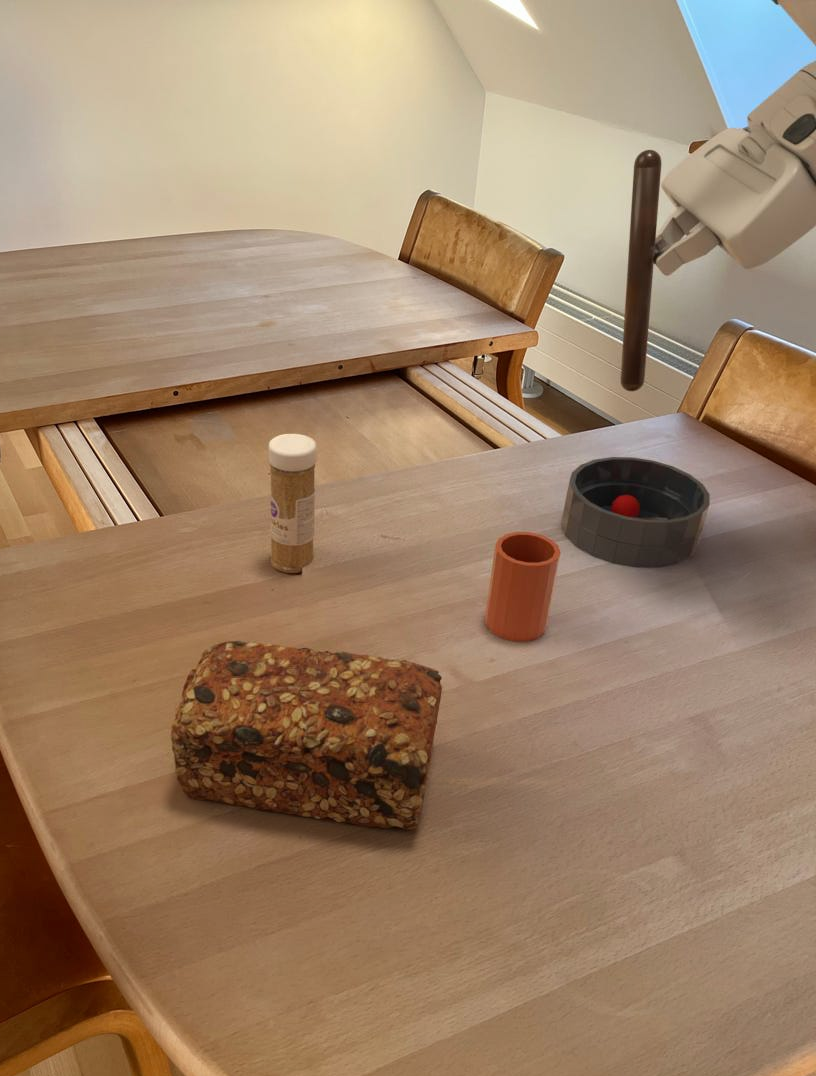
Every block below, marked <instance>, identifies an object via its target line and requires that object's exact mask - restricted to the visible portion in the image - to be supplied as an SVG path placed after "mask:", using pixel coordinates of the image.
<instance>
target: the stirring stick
mask: <svg viewBox="0 0 816 1076" xmlns="http://www.w3.org/2000/svg"><path fill="white" fill-rule="evenodd" d="M661 176H662V157H661V155H660V154H659V152H657V150H653V149H646V150H645V149H644V150H643V151H642V152H640V153H639V154H638V155H637V156H636V158H635V160H634V163H633V175H632V190H631V191H632V192H631V207H630V224H629V240H628V253H627V254H628V256H627V268H626V269H627V271H626V288H625V300H624V303H625V304H624V320H623V333H622V350H621V351H622V352H621V364H620V365H621V366H620V385H621V387H622V388H623V389H624V390H625V391H627V392H631V393H633V392H637V391H638V390H640V389H641V388H642V387H643V385H644V383H645V380H646V379H645V378H646V365H647V353H648V343H649V342H648V341H649V328H650V317H651V315H650V314H651V303H652V301H651V300H652V289H653V279H654V265H655V264H654V261H653V257H654V253H655V240H656V235H657V228H658V227H657V225H658V215H659V214H658V213H659V201H660V190H661V189H660V188H661Z"/></svg>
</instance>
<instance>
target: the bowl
mask: <svg viewBox="0 0 816 1076" xmlns="http://www.w3.org/2000/svg"><path fill="white" fill-rule="evenodd" d="M622 495H630V496H633V497H634V498H636V499H637V501H638V502H639V505H640V511H639V514H638V516H637V517H636V518H632V517H626V516H622V515H619V514H616V513H613V512H611V506H612V503H613V502H614V500H615V499H616V498H618V497H619V496H622ZM710 496H711V494H710V493H709V490H708V489H707V488H706V487H705V485H704V484H703V483H702V482H701V481H700V480H698V479H697V478H696V477H694V476H693V475H692V474H690V473H689V472H686V471H684V470H682V469H680V468H677V467H676V466H673V465H670V464H667V463H663V462H659V461H657V460H654V459H653V460H652V459H645V458H639V457H634V456H633V457H630V456H629V457H628V456H609V457H603V458H596V459H593V460H592V459H591V460H589V461H587V462H584V463H581V464H579V465H578V466H577V468H575V469H574V470H573V471H572V472H571V474H570V477H569V481H568V485H567V492H566V497H565V503H564V507H563V514H562V518H561V522H560V523H561V524H560V526H561V529H562V531H563V534H564V537H566V538H567V539H568V541H570V542H571V543H572V544H573V546H575V547H576V548H577V549H579V550H581V551H582V552H584V553H586V554H587V555H589V556H591V557H594V558H596V559H599V560H602V561H605V562H608V563H610V564H614V565H620V566H626V567H629V568H630V567H631V568H644V569H645V568H648V569H650V568H651V569H652V568H656V569H657V568H663V567H669V566H675V565H677V564H680V563H682V562H684V561H685V560H688V559H690V558H691V557H692V556H693V554H694V553H695V552H696V551H697V550H698V547H699V546H698V545H699V543H700V539H701V536H702V532H703V530H704V526H705V523H706V519H707V515H708V512H709V508H710V505H711V503H710V502H711V500H710V499H711V497H710ZM638 518H641V519H638ZM644 518H647V519H644ZM649 518H650V519H649Z"/></svg>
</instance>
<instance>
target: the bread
mask: <svg viewBox="0 0 816 1076" xmlns="http://www.w3.org/2000/svg"><path fill="white" fill-rule="evenodd" d="M439 672H440V671H438V670H437V669H435V668H433V667H428V666H425V665H423V664H420V663H417V662H414V661H408V660H406V659H391V658H390V659H389V658H383V657H382V656H374V655H373V656H372V655H368V654H357V653H352V652H346V651H336V652H331V651H330V650H329V651H328V650H325V651H321V650H315V649H313V648H309V647H301V648H297V647H291V646H287V645H282V644H273V643H259V642H252V641H251V642H250V641H244V640H240V639H239V640H225V641H220V642H216V643H215V644H213V645H212V646H210V647H208V648H206V649H205V650H204V651H203V652H202V653H201V658H200V659H199V661H198V663H197V665H196V666H195V668H192V669H190V672H189V673H188V674H187V676H186V680H185V683H184V685H183V688H182V692H181V698H180V702H179V706H177V707H176V708H175V712H174V713H175V718H174V720H173V722H172V724H171V733H170V738H171V750H172V752H173V758H174V759H173V760H174V765H175V767H174V768H175V773H176V779H177V781H178V784H179V785H180V787H181V791H182V792H183V794H184V795H186V796H187V797H189V798H190V799H193V800H201V801H204V800H211V801H214V802H221V803H226V804H228V805H231V806H246V807H248V808H251V809H255V810H259V811H269V810H271V811H273V812H275V813H276V812H278V813H279V812H281V813H284V814H287V815H296V816H299V817H311V818H314V819H317V820H320V819H325V818H330V819H333V820H334V821H336V822H338V823H346V824H352V825H353V824H354V825H357V826H362V827H376V828H380V829H389V828H392V827H397V828H400V829H403V830H412V829H417V827H418V825H419V824H418V823H419V821H420V817H421V813H422V806H423V801H424V797H425V793H426V789H427V783H428V777H429V773H430V772H429V771H430V764H431V760H432V749H433V744H434V738H435V733H436V729H437V728H436V726H437V723H438V716H439V711H440V703H441V699H442V690H443V685H442V684H441V680H442V678H443V677H442V675H440V674H439Z"/></svg>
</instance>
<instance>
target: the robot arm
mask: <svg viewBox="0 0 816 1076" xmlns="http://www.w3.org/2000/svg"><path fill="white" fill-rule="evenodd" d="M771 1H772V3H774V4H775V5H776V6H780V7H781V8H782V10H783V11H784V12H785V13H786V14H787V15H788V17H789V18H790V19H791V20H792V21H793V22H794V24H796V26H797V27H798V28H799V29H800V31H802V32H803V34H804V35H805V36H806V37H807V39H809V40H810V42H811V43H812V44H813V45H814V47H816V0H771ZM746 122H747V126H745V127H743V128H741V127H739V128H736V127H730V128H726V129H724V130H721V131H720V132H718V133H717V134H716V135H714V136H712V137H711V138H710V139H709V140H707V141H706V142H704V143H703V144H702V145H701V146H699V147H698V148H697V149H696V150H694V151H693V152H692V153H691V154H689V155H687V157H685V158H683V160H682V161H681V162H679V163H678V164H677V165H675V166H674V167H673V168H672V169H671V170H670V171H669V172H668V173H667V174H666V175H665V177H664V178H663V180H662V181H661V182H660V188H661V189H662V190H663V192H664V193H665V195H666V197H667V199H668V200H669V201H670V202H671V204H672V205H673V206H674V207H675V210H674V211H673V212H671V213H670V215H669V216H668V217H667V218H666V220H665V221H664V223H663V225H662V226H661V227H660V229H659V230H658V232H657V233H656V240H655V253H654V257H653V261H654V265H655V266H656V267H657V268H658V270H659V271H660V273H662V275H664V276H666V277H669V276H671V275H672V274H673V273H674V272H676V271H677V270H678V269H680V268H681V267H682V266H683V265H684V264H688V263H689V262H693V261H695V260H697V259H699V258H702V257H704V256H706V255H707V254H708V253H710V252H711V251H712V250H714V249H715V248H716V247H717V246H718V247H719V248H720V249H722V250H723V251H724V253H726V254H727V255H729V257H731V258H732V259H733V260H734V261H735V262H736V263H737V264H739V265H740V266H741V267H742V268H743V269H744V270H751V269H754V268H757V267H759V266H762V265H764V264H766V263H769V262H770V261H771V260H772V259H773V260H774V258H776V257H777V256H779V255H780V254H781V253H783V252H785V250H787V249H788V248H790V247H791V246H792V245H793V244H795V243H796V242H798V241H799V240H800V239H801V238H803V237H804V236H805V235H806V234H808V233H809V232H810V231H812V230H813V229H814V228H816V60H814V61H812V62H810V63H808V64H805V65H804V66H803V67H801V68H800V69H799V70H798V71H797V72H796V73H794V74H793V75H792V76H790V78H789V79H788V80H786V81H785V82H784V83H783V84H782V85H780V87H779V88H777V89H775V91H774V92H773V93H772V94H770V95H769V96H768V97H767V98H766V99H764V100H763V101H762V102H761V103H760V104H759V105H758V106H756V108H754V109H753V110H752V111H751V112H750V113H748V115H747V117H746Z"/></svg>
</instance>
